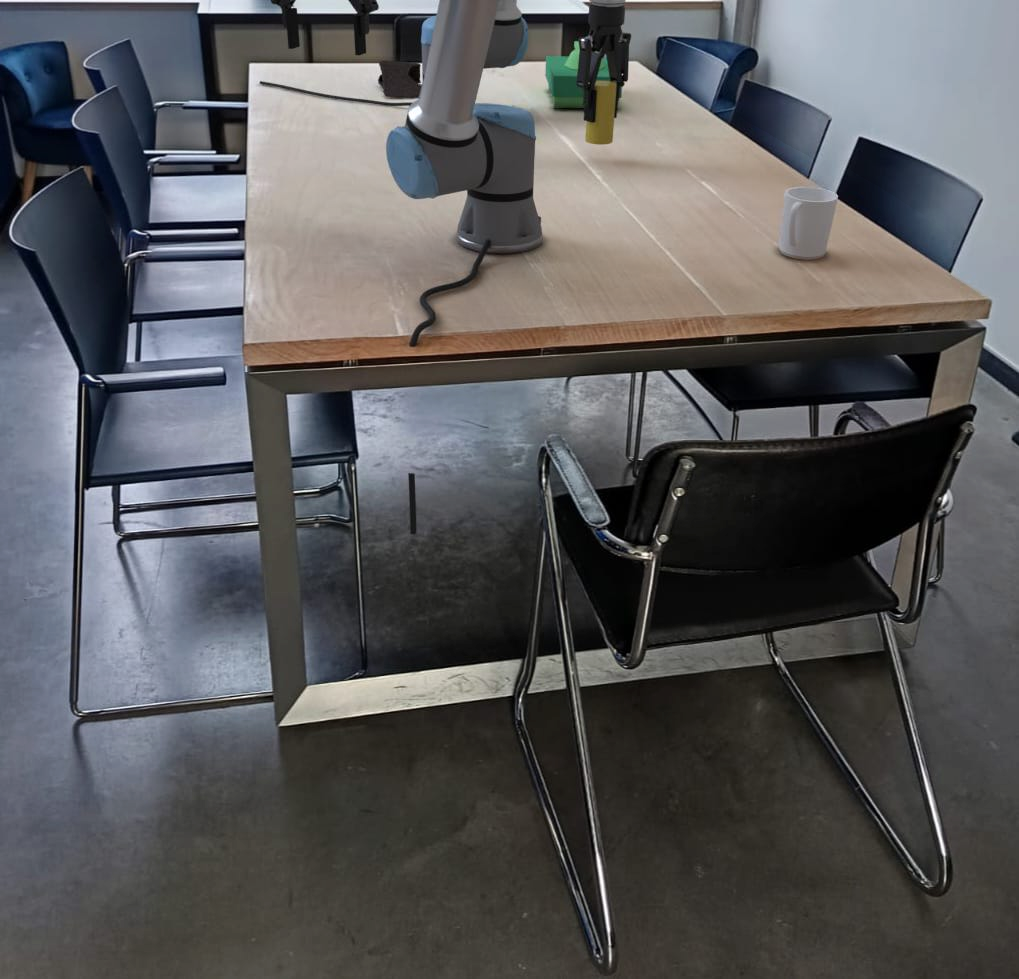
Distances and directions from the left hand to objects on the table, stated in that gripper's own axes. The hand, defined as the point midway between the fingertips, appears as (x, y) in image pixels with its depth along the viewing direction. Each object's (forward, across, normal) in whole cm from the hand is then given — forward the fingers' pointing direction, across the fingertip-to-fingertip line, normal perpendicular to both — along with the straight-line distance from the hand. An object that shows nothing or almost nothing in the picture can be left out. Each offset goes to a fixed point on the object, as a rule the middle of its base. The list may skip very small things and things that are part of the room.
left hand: (600, 118), depth 238 cm
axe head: (+9, +8, +83) cm, 84 cm away
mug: (+9, -16, -66) cm, 68 cm away
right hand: (-19, -64, +7) cm, 67 cm away
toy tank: (+9, +43, +49) cm, 66 cm away
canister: (+5, 0, 0) cm, 5 cm away
